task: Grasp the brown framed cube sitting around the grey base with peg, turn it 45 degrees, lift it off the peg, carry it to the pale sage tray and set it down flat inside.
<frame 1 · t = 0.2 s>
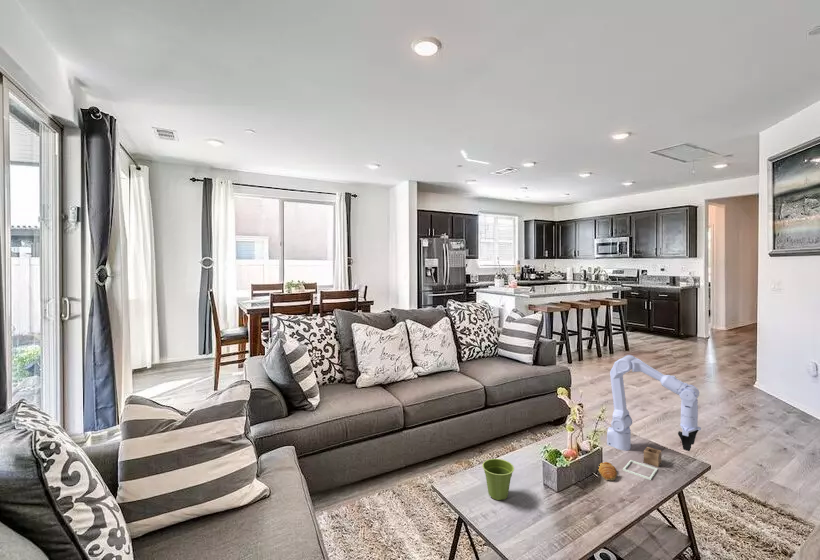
hand: (688, 446, 159), 10 cm above the table, fingers open, 7 cm apart
grey base with peg: (652, 464, 165), on the table
brown framed cube: (652, 462, 164), point 1 cm above the table, touching grey base with peg
pastry: (608, 475, 158), on the table
plant pot: (498, 495, 146), on the table
tray: (640, 472, 159), on the table
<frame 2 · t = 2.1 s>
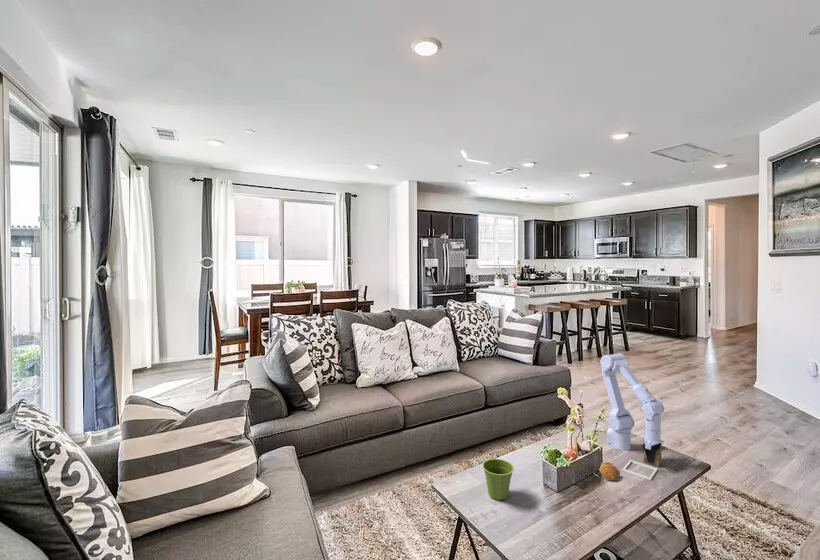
hand: (652, 459, 164), 2 cm above the table, fingers closed on brown framed cube, 5 cm apart
brown framed cube: (652, 462, 164), point 1 cm above the table, touching gripper, grey base with peg
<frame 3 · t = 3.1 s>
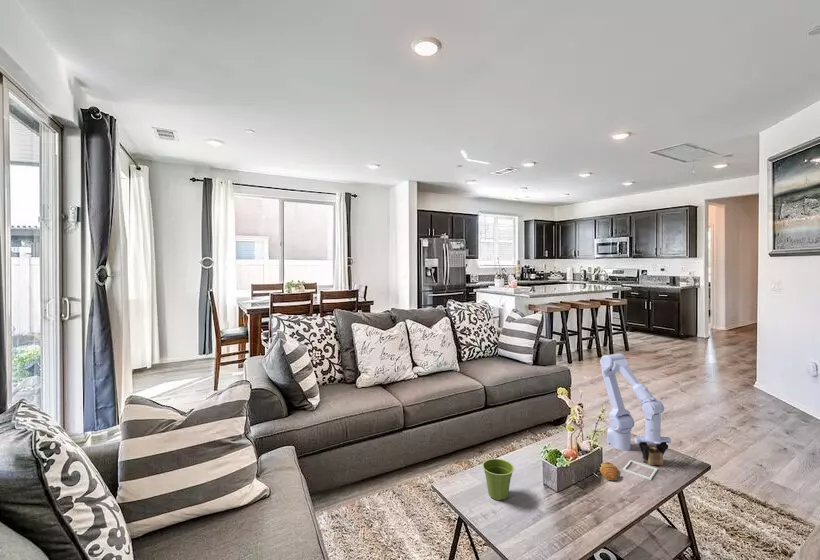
hand: (652, 459, 164), 2 cm above the table, fingers closed on brown framed cube, 5 cm apart
brown framed cube: (652, 461, 164), point 1 cm above the table, touching gripper
everything else where it was.
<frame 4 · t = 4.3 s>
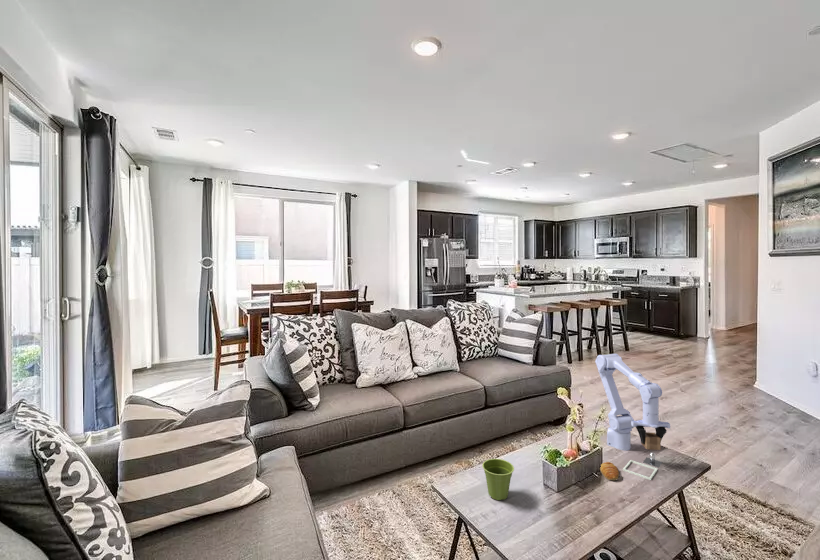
hand: (650, 443, 163), 10 cm above the table, fingers closed on brown framed cube, 5 cm apart
brown framed cube: (650, 446, 163), point 9 cm above the table, touching gripper
everything else where it was.
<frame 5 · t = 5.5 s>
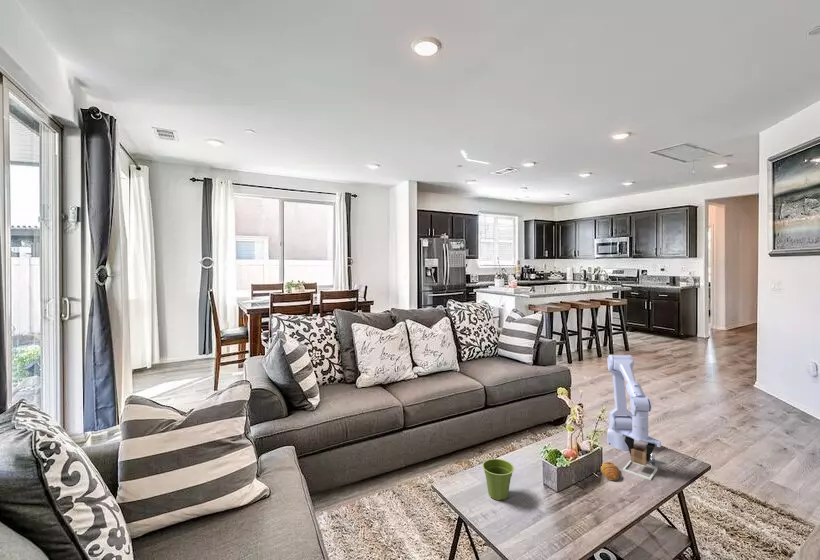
hand: (640, 457, 158), 6 cm above the table, fingers closed on brown framed cube, 5 cm apart
brown framed cube: (640, 461, 158), point 5 cm above the table, touching gripper
when the fingers open (4 cm above the table, at t = 6.5 s): brown framed cube drops 2 cm, resting on tray.
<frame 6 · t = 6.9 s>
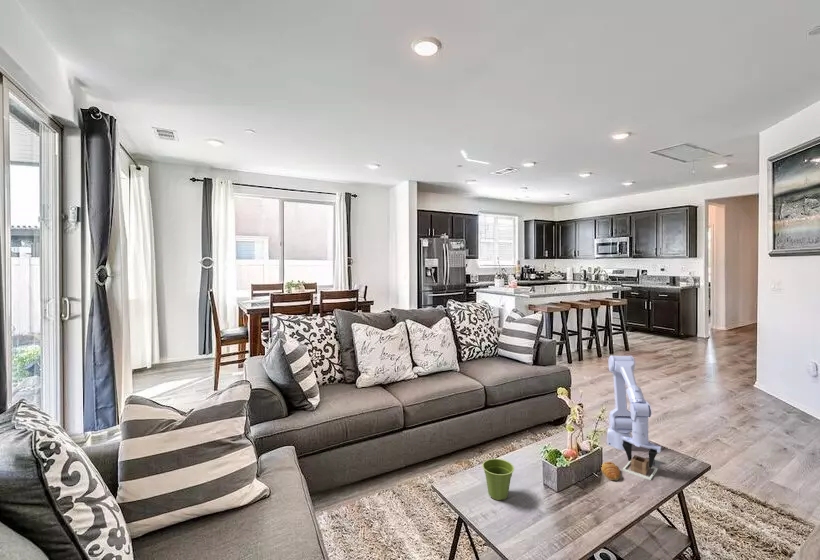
hand: (640, 463, 159), 4 cm above the table, fingers open, 7 cm apart
brown framed cube: (640, 471, 159), resting on tray
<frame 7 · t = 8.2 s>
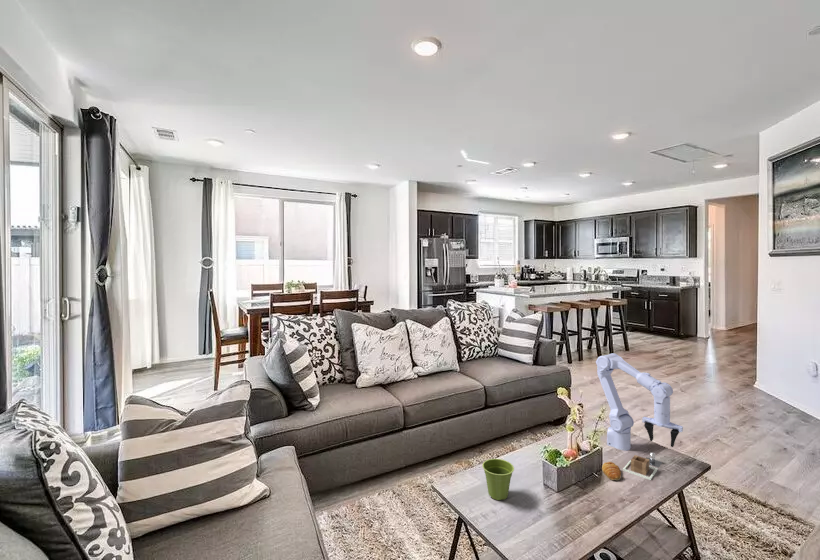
hand: (661, 443, 163), 10 cm above the table, fingers open, 7 cm apart
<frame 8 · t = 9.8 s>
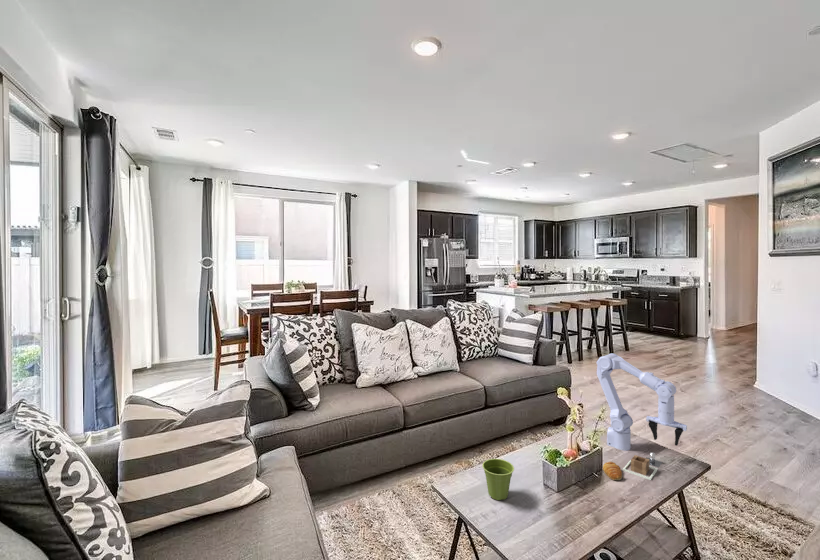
hand: (665, 441, 164), 10 cm above the table, fingers open, 7 cm apart
at the end: brown framed cube inside the target area on the tray (0.0 cm from its centre), point 0.5 cm above the tray's base; brown framed cube tilted 0°; the gripper is holding nothing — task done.
